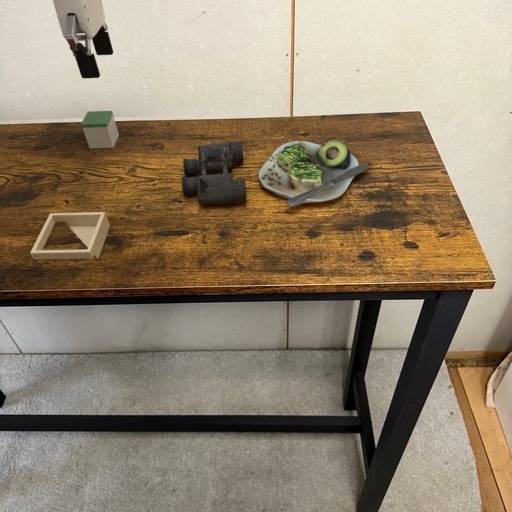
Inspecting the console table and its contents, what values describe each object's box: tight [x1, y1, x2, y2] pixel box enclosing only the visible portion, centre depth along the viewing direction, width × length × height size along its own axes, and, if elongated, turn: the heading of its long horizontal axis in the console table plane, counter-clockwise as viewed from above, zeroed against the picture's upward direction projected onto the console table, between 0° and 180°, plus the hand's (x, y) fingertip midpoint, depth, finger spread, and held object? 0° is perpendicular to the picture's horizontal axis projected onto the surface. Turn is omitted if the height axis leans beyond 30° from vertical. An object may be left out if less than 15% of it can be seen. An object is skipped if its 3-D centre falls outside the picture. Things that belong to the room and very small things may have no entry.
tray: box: [29, 211, 111, 261], centre depth 72 cm, size 9×9×3 cm
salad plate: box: [258, 139, 369, 208], centre depth 81 cm, size 19×18×5 cm
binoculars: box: [181, 141, 248, 206], centre depth 81 cm, size 11×16×6 cm
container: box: [80, 110, 120, 149], centre depth 93 cm, size 5×5×6 cm
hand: (98, 65), depth 83 cm, fingers open, 9 cm apart
